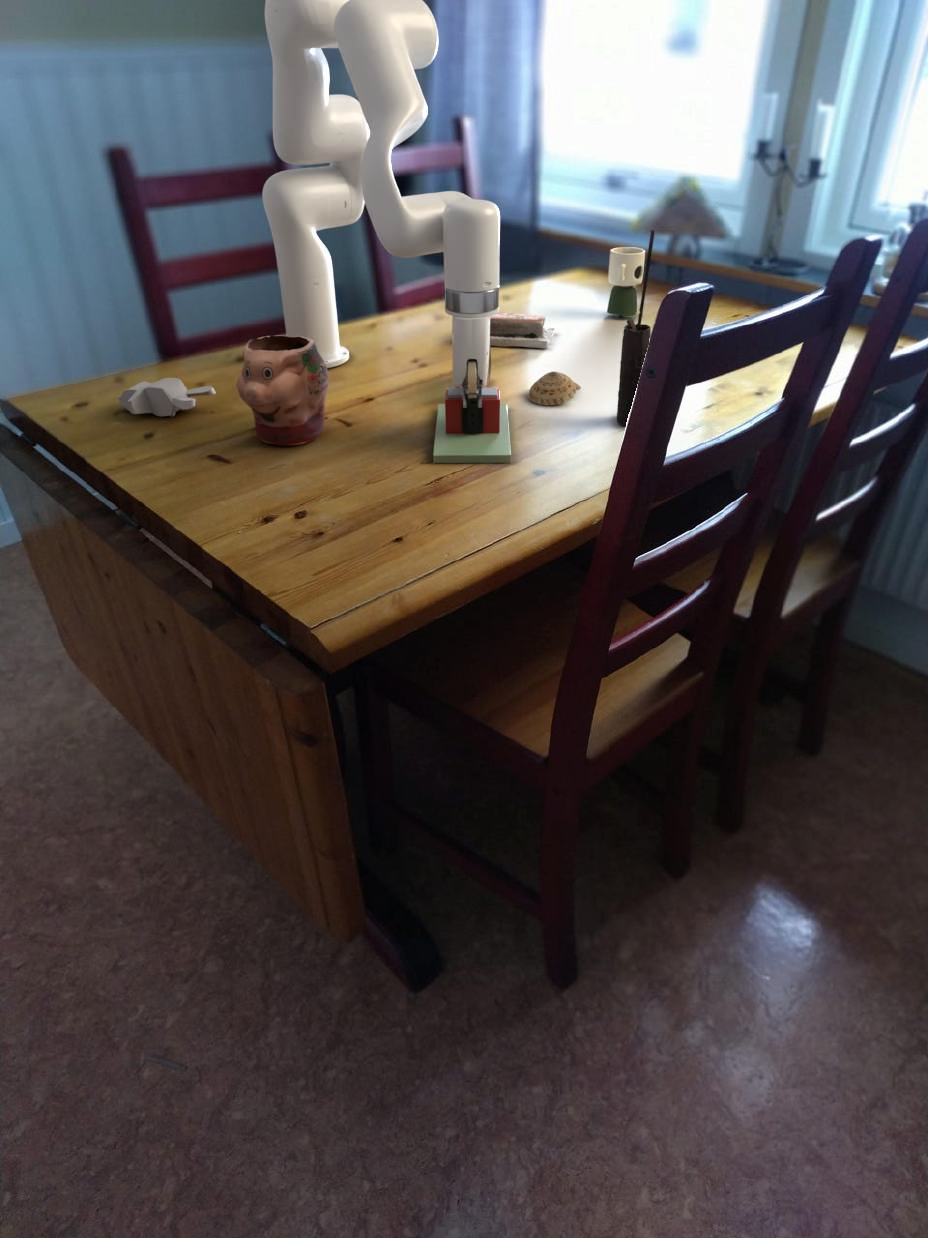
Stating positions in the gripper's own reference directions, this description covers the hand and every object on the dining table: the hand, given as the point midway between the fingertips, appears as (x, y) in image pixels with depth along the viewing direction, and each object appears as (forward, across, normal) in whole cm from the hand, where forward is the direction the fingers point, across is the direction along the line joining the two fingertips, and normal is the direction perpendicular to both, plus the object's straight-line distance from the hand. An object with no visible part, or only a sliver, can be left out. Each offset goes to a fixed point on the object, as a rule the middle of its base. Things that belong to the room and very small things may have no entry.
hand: (472, 424), depth 127 cm
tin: (+2, -19, 0) cm, 19 cm away
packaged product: (+2, -48, +6) cm, 48 cm away
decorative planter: (+2, -2, -28) cm, 28 cm away
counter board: (+2, 0, 0) cm, 2 cm away
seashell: (+2, -16, +13) cm, 21 cm away
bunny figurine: (+2, -10, -50) cm, 51 cm away
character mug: (+2, -64, +32) cm, 71 cm away
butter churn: (+2, -6, +24) cm, 25 cm away
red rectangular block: (+1, 0, 0) cm, 1 cm away
